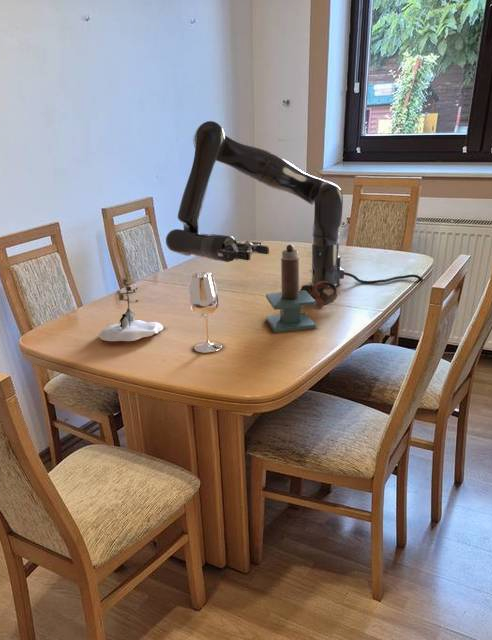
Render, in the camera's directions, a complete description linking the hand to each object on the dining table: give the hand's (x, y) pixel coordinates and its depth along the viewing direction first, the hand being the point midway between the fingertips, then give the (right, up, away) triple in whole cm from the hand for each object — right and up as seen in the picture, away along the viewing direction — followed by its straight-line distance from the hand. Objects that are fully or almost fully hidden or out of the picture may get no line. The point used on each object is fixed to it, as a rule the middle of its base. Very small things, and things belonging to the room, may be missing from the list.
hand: (259, 253), depth 169 cm
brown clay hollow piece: (+20, -10, +18) cm, 29 cm away
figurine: (-38, -23, +4) cm, 45 cm away
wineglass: (-15, -29, -9) cm, 34 cm away
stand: (+9, -20, +3) cm, 22 cm away
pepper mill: (+9, -13, -1) cm, 16 cm away
